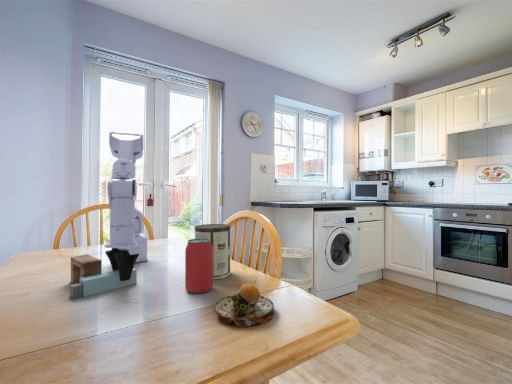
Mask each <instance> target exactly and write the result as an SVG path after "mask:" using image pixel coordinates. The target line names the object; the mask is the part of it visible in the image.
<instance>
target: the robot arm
mask: <svg viewBox="0 0 512 384" xmlns="http://www.w3.org/2000/svg"><path fill="white" fill-rule="evenodd" d="M108 135H109V137H108V141H109V148H110V152H111V154H112V157H115V158H116V159H117V160H116V161H114V162H113V164H112V169H111V178H110V180H108V181H107V185H106V186H107V187H106V188H107V193H106V194H107V200H108V208H109V239H107V241H106V242H107V243H106V244H105V243H104V247H103V248H107V249H109V248H111V249H110V250H105V252H104V253H105V255H106V256H107V258H108V260H109V262H110V265H111V271H116V270H119V276H120V280H121V281H126V280H130V278H131V274H132V270H133V268H134V267H135V264H136V263H135V262H137V263H141V261H142V262H146V260H147V261H149V258H148V241H147V240H148V239H147V237H146V236H145V234H142V233H144V217H143V216H144V215H143V214H144V213H143V212H142V210H140V209H139V208H137V207H136V204H135V203H136V202H135V201H136V200H137V197H138V196H137V194H138V193H137V192H138V191H137V190H138V186H137V179H136V178H137V177H136V170H137V169H136V168H137V167H136V162H137V160H139V159H142V158H143V155H144V133H143V132H135V131H123V130H122V131H121V130H114V129H111V130H110V131H109V134H108Z"/></svg>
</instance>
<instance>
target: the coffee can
mask: <svg viewBox="0 0 512 384" xmlns="http://www.w3.org/2000/svg"><path fill="white" fill-rule="evenodd" d="M199 238H204V239H210V240H211V244H212V247H213V281H215V280H222V279H225V278H228V277H229V276H231V225H230V224H225V223H223V224H222V223H208V224H206V223H205V224H199V225H195V226H194V239H199Z"/></svg>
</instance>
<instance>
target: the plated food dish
mask: <svg viewBox="0 0 512 384" xmlns="http://www.w3.org/2000/svg"><path fill="white" fill-rule="evenodd" d="M256 282H257V278H256V279H255V282H254V283H253V284H252V283H244V284H242V285H241V286H240V288H239V290H238V291H237V292H236V293H234V295H233V294H232V295H228V296H226V297H223V298H220V299H219V300H218V301H216V302H215V305H214V313H215V314H216V315H218V317H219V322H220V323H219V324H223V326H229V327H230V326H231V322H232V321H233V322H234V324H235V325H236V326H237V327H238V328H241V329H244V328H245V327H246V328H249V327H250V326H252V325H253V326H255V325H256V324H260V325H261V326H262V325H264V324H266V323H267V322H268V321H271V320H272V319H273V318H274V316H275V311H274V308H275V307H274V305H275V304H274V302H273V301H272V300H271V299H269V297H265V296H264V295H263V296H262V295H261V293H260V290H259V289H258V287H257V286H256V285H255V284H256Z"/></svg>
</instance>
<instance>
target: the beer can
mask: <svg viewBox="0 0 512 384" xmlns="http://www.w3.org/2000/svg"><path fill="white" fill-rule="evenodd" d="M184 252H185V253H184V254H185V258H184V261H185V264H184V265H185V275H184V276H185V277H184V278H185V279H184V282H185V287H184V289H185V290H186V291H187V292H188V293H190V294H205V293H207V292H209V291H211V290H212V289H213V286H214V280H213V247H212V244H211V240H210V239H204V238H199V239H195V238H192V239H188V240H187V244H186V247H185V251H184Z"/></svg>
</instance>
